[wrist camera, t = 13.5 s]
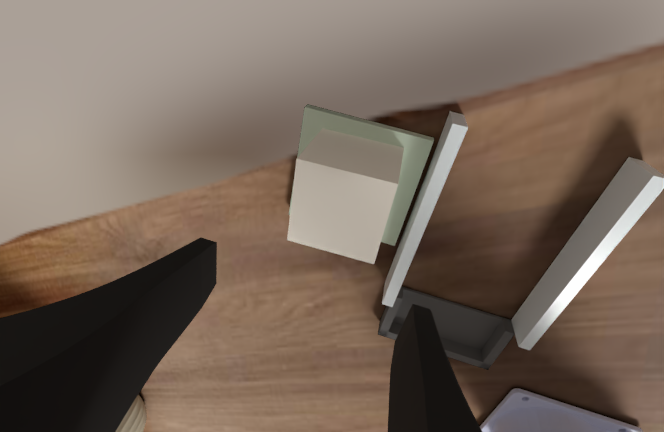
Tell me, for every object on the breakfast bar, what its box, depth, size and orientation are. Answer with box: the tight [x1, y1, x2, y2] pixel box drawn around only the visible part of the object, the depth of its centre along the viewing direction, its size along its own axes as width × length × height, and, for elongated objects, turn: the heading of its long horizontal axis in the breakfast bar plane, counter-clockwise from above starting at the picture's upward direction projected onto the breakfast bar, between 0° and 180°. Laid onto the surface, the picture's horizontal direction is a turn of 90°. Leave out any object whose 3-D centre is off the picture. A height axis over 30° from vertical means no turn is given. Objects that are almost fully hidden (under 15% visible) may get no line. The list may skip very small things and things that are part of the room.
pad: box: [289, 104, 434, 246], centre depth 20 cm, size 7×7×1 cm
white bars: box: [382, 111, 664, 350], centre depth 19 cm, size 9×12×2 cm
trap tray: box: [378, 286, 515, 370], centre depth 24 cm, size 8×4×1 cm, turn 79°
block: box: [287, 128, 404, 264], centre depth 18 cm, size 4×4×4 cm
